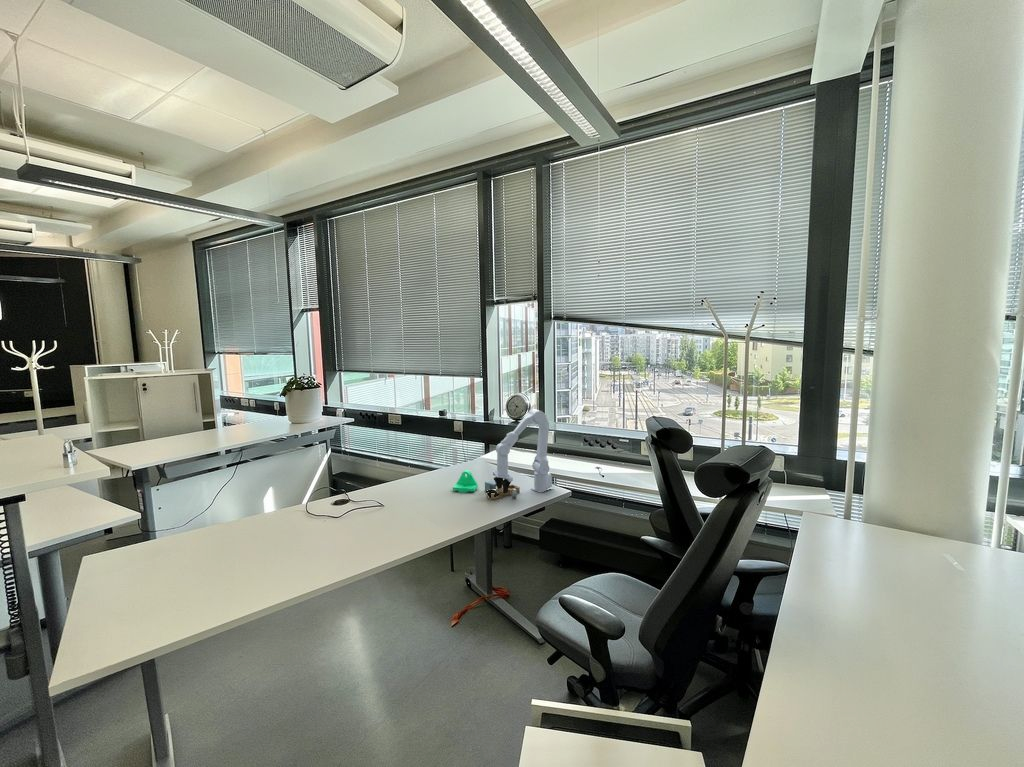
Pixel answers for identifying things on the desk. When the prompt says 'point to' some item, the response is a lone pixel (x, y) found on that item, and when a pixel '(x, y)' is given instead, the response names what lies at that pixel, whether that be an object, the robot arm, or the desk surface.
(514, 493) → the pintle
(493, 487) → the keeper
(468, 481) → the green triangular piece
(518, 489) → the lever
